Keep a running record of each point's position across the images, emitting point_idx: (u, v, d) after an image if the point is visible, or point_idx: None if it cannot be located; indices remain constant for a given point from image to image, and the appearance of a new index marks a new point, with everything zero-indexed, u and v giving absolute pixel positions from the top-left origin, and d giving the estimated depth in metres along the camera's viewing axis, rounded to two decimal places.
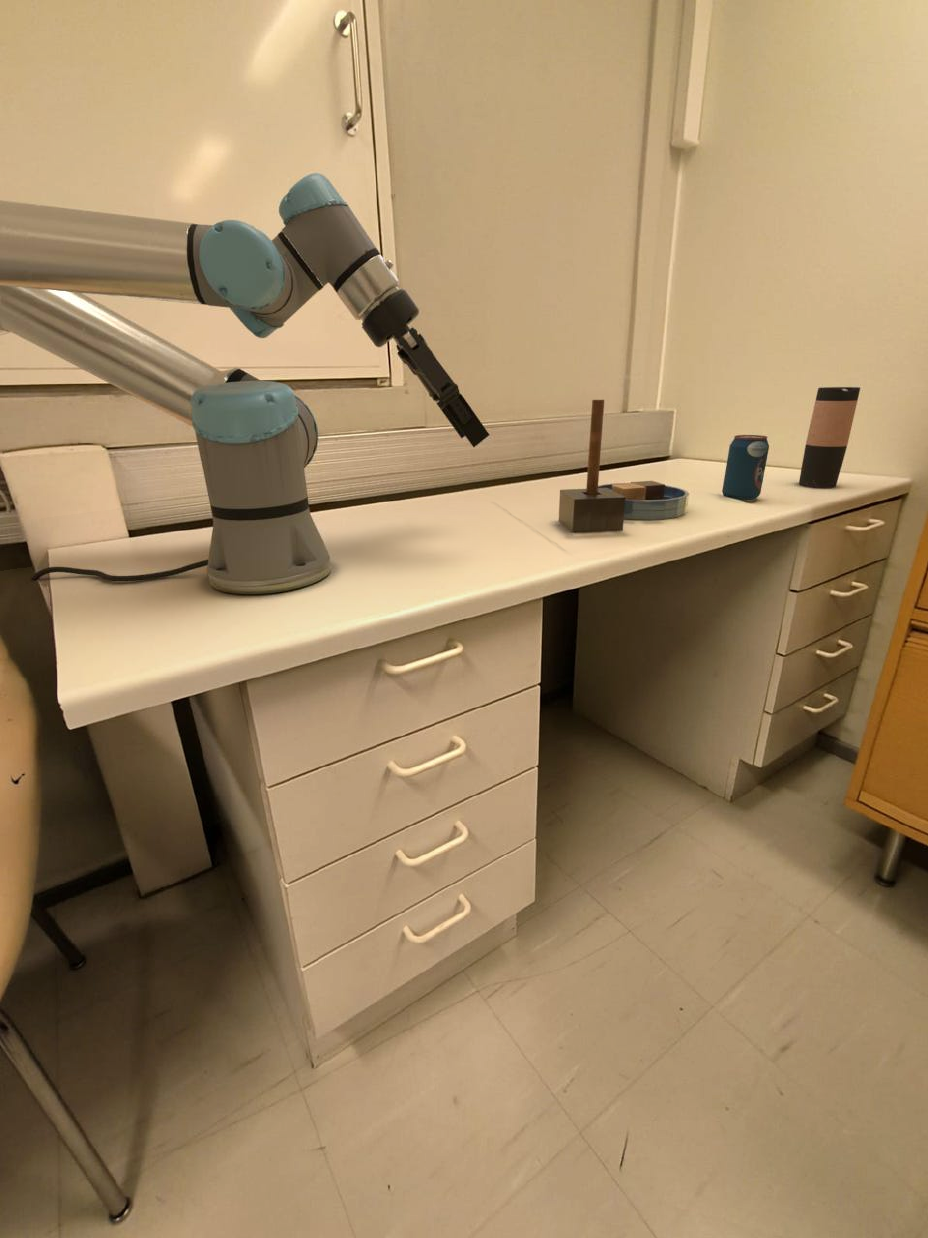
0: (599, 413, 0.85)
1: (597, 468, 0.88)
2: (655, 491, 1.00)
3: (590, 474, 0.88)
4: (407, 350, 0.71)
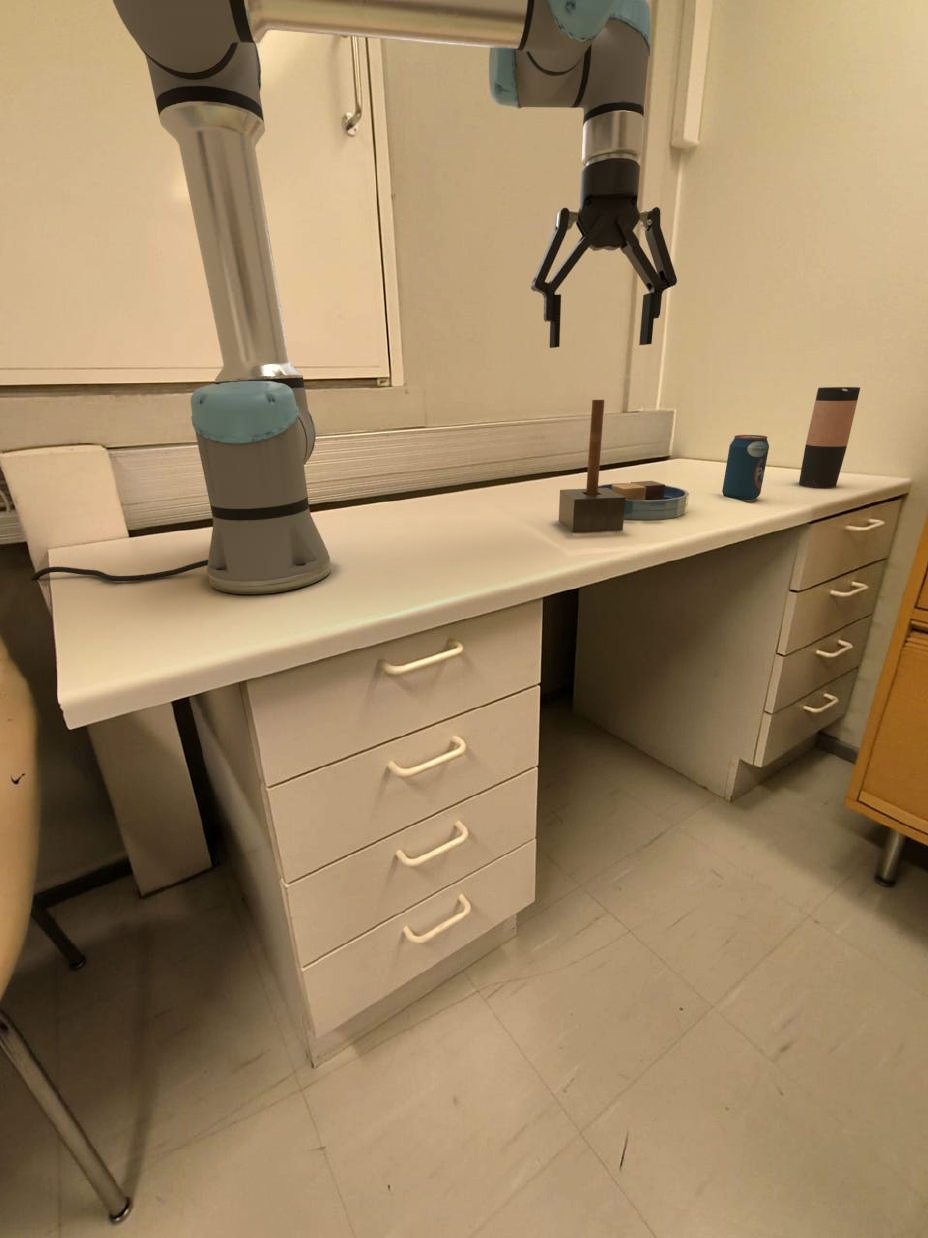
0: (599, 413, 0.85)
1: (597, 468, 0.88)
2: (655, 491, 1.00)
3: (590, 474, 0.88)
4: (659, 222, 0.76)
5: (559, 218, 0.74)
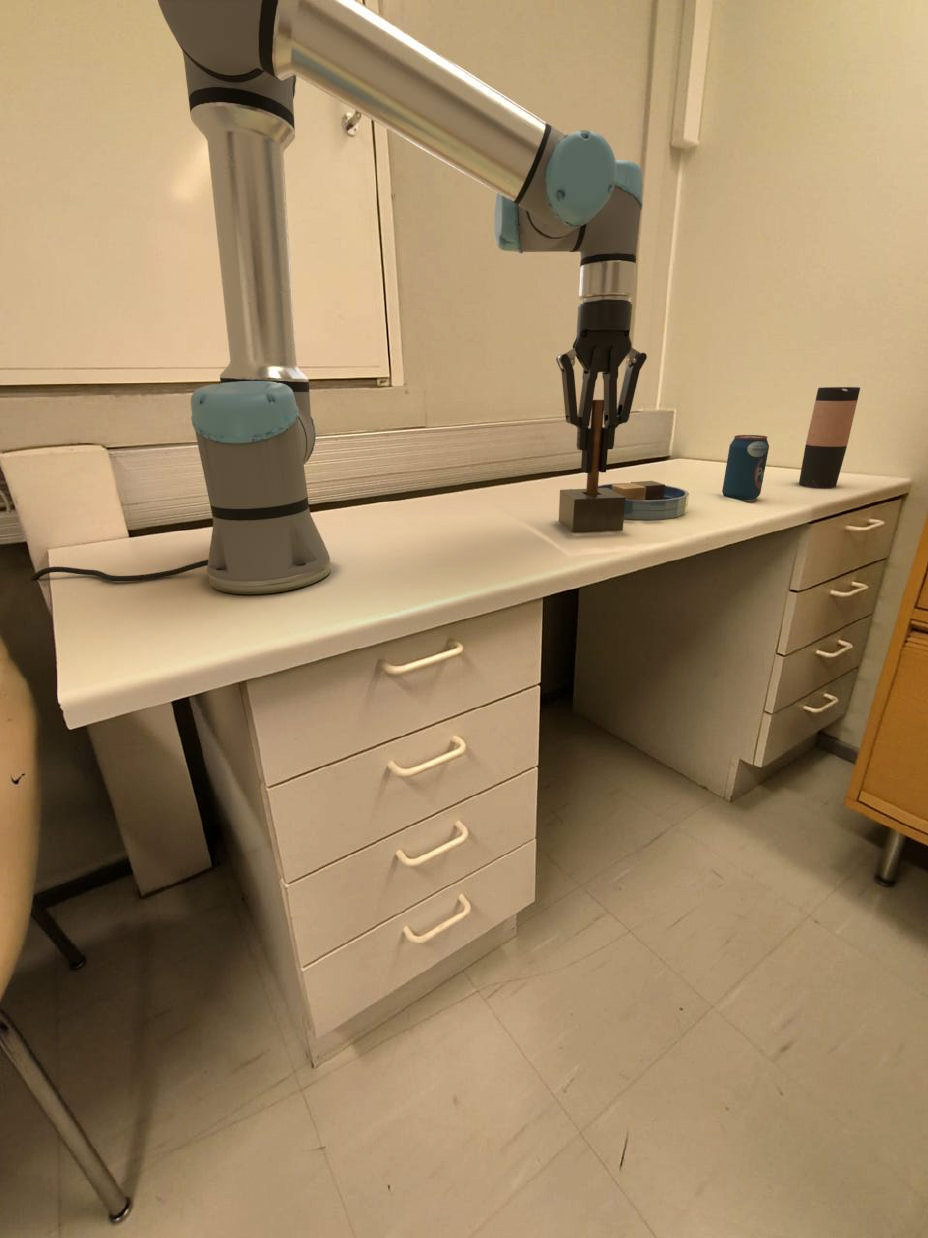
0: (599, 413, 0.85)
1: (597, 468, 0.88)
2: (655, 491, 1.00)
3: (590, 474, 0.88)
4: None
5: (563, 365, 0.81)
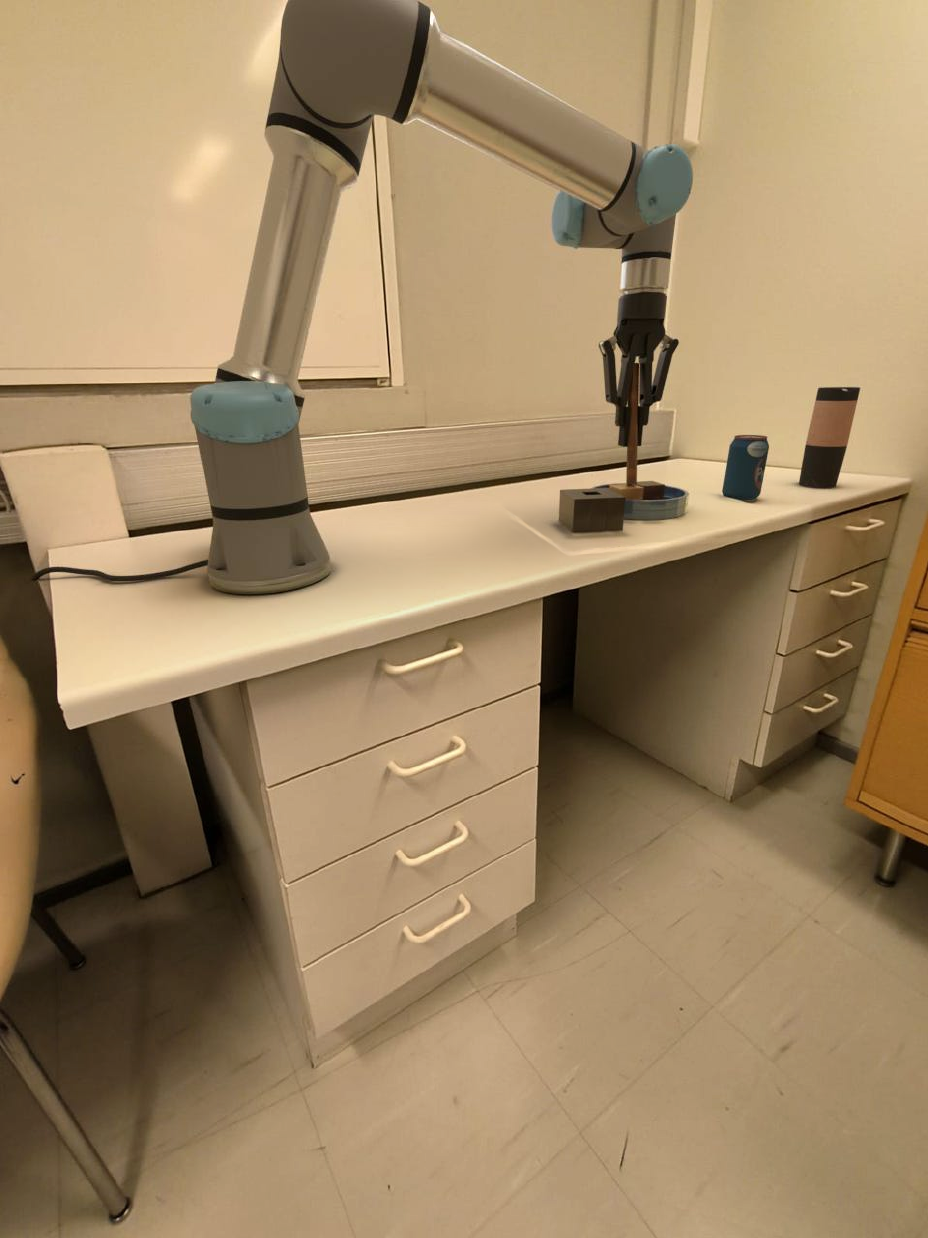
0: (635, 374, 0.95)
1: (636, 424, 0.97)
2: (654, 491, 1.00)
3: (630, 431, 0.98)
4: (673, 351, 0.94)
5: (605, 350, 0.92)
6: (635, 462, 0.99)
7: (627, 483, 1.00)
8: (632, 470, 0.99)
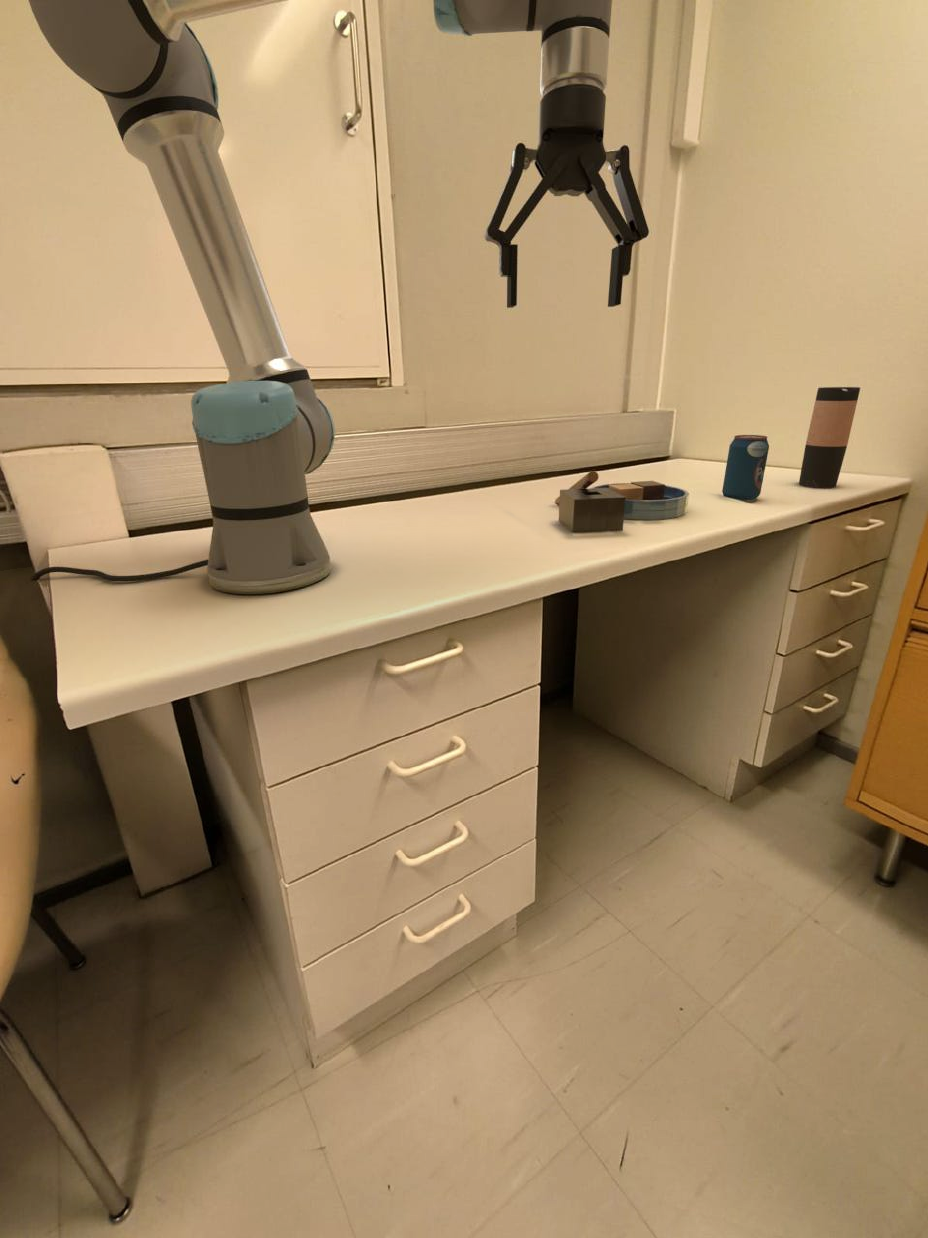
0: None
1: None
2: (654, 491, 1.00)
3: (572, 486, 0.98)
4: None
5: (514, 155, 0.65)
6: None
7: (587, 476, 0.90)
8: (586, 475, 0.92)
